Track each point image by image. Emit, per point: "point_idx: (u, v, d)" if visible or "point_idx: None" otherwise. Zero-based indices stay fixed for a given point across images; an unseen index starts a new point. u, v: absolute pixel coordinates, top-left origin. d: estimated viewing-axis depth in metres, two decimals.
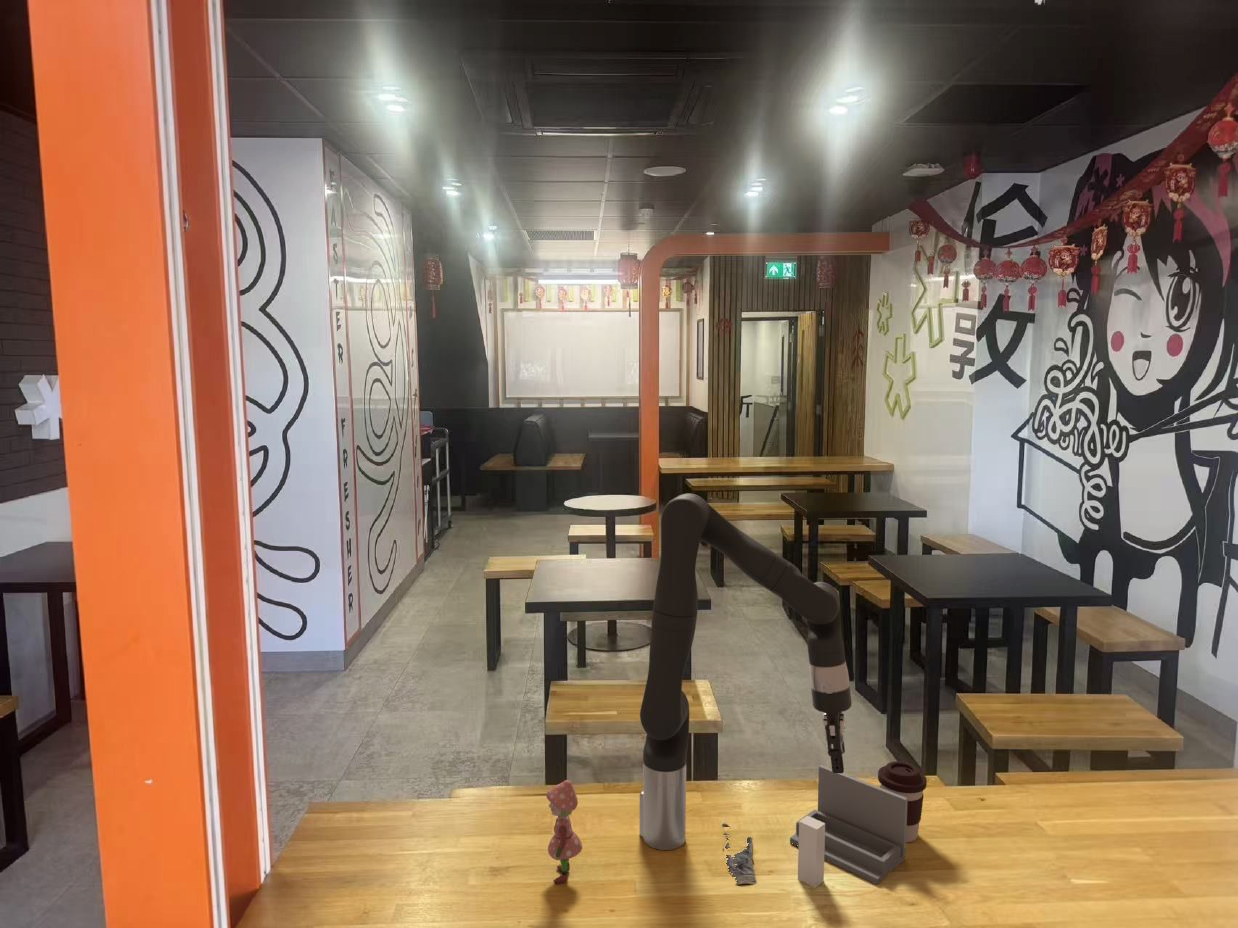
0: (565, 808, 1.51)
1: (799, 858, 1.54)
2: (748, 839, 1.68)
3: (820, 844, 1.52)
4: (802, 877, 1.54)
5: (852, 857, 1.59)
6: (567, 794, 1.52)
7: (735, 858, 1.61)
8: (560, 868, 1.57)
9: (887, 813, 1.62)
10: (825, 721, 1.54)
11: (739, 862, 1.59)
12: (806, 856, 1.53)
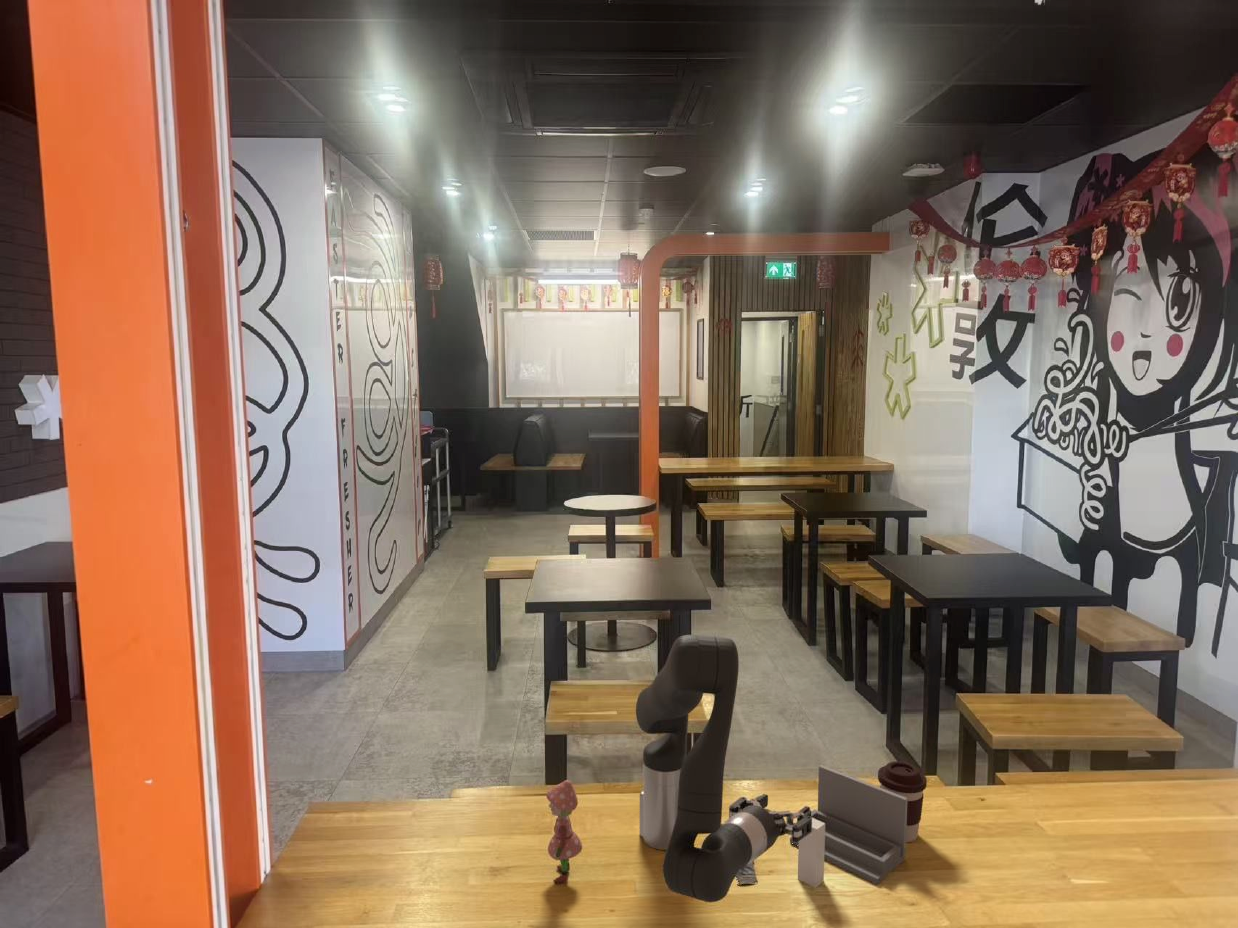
0: (565, 808, 1.51)
1: (799, 858, 1.54)
2: None
3: (820, 844, 1.52)
4: (802, 877, 1.54)
5: (852, 857, 1.59)
6: (567, 794, 1.52)
7: None
8: (560, 868, 1.57)
9: (887, 813, 1.62)
10: None
11: None
12: (806, 856, 1.53)
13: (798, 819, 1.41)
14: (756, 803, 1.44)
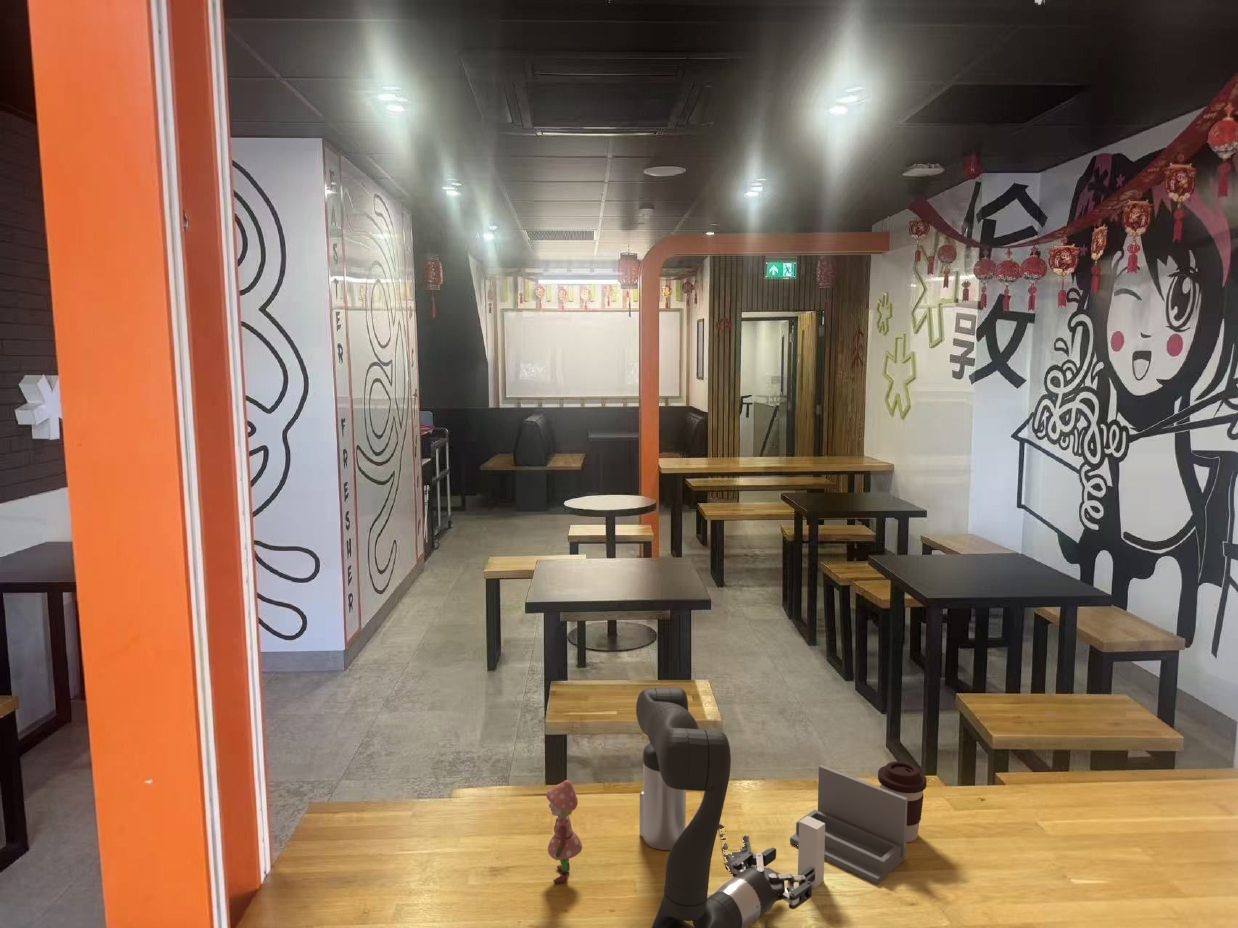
0: (565, 808, 1.51)
1: (799, 858, 1.54)
2: (745, 838, 1.68)
3: (820, 844, 1.52)
4: None
5: (852, 857, 1.59)
6: (567, 794, 1.52)
7: (735, 858, 1.61)
8: (560, 868, 1.57)
9: (887, 813, 1.62)
10: (757, 870, 1.44)
11: None
12: (806, 856, 1.53)
13: (799, 882, 1.42)
14: (760, 861, 1.47)
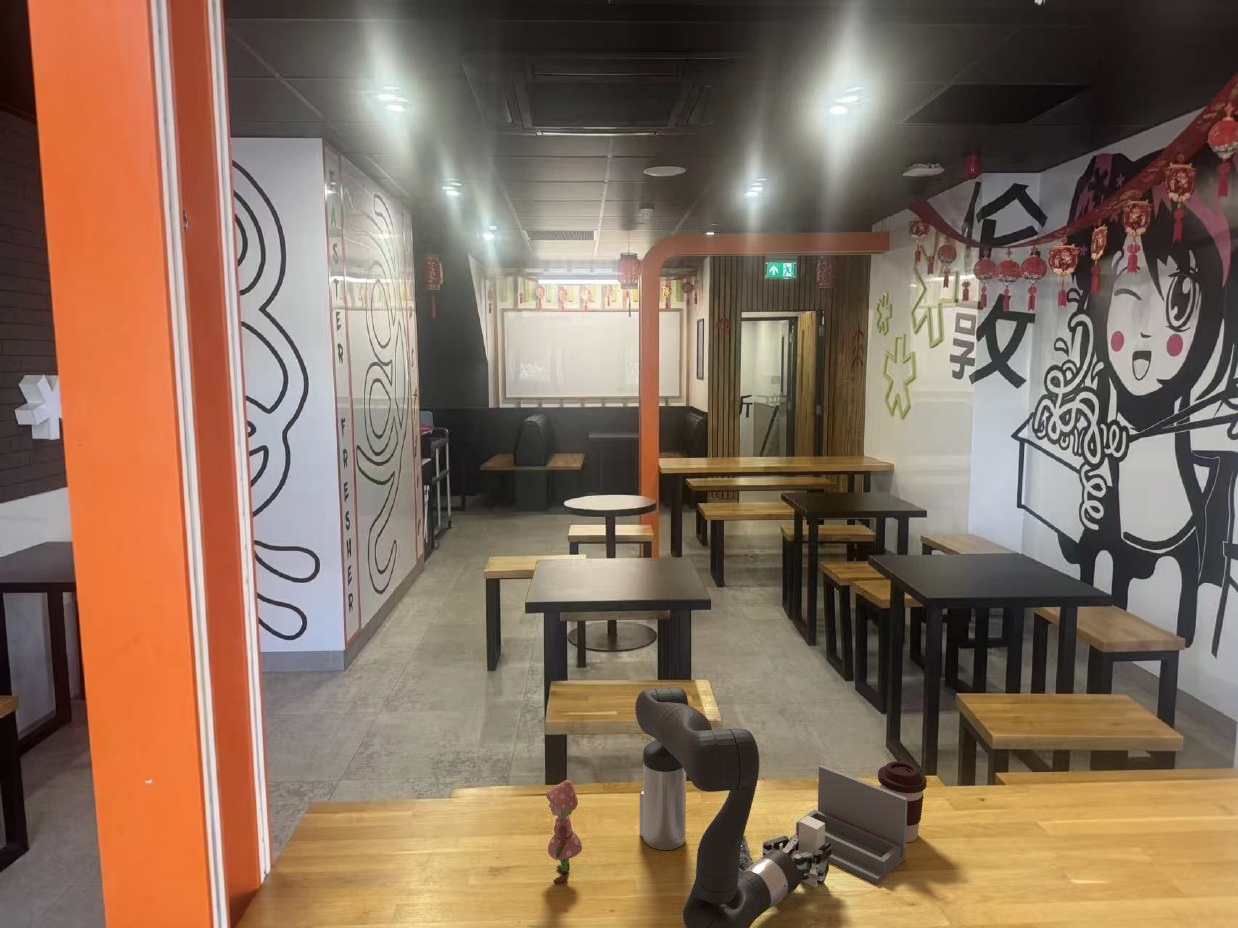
0: (565, 808, 1.51)
1: None
2: None
3: (820, 844, 1.52)
4: None
5: (852, 857, 1.59)
6: (567, 794, 1.52)
7: None
8: (560, 868, 1.57)
9: (887, 813, 1.62)
10: None
11: (739, 862, 1.59)
12: None
13: (817, 856, 1.50)
14: (790, 844, 1.52)
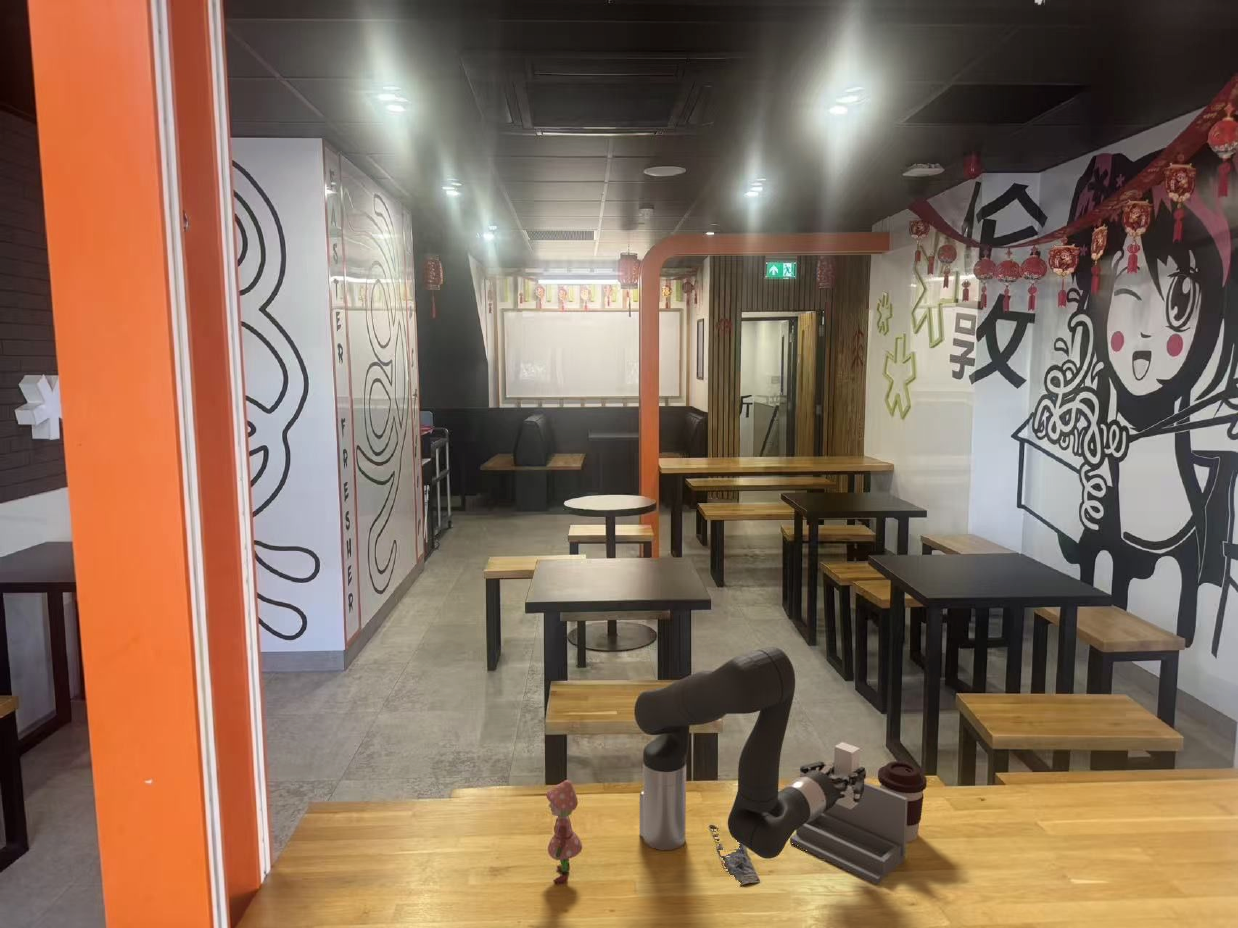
0: (565, 808, 1.51)
1: None
2: None
3: (855, 767, 1.59)
4: (837, 800, 1.61)
5: (852, 857, 1.59)
6: (567, 794, 1.52)
7: (732, 858, 1.61)
8: (560, 868, 1.57)
9: (887, 813, 1.62)
10: None
11: (737, 862, 1.59)
12: None
13: (852, 779, 1.58)
14: (826, 768, 1.59)
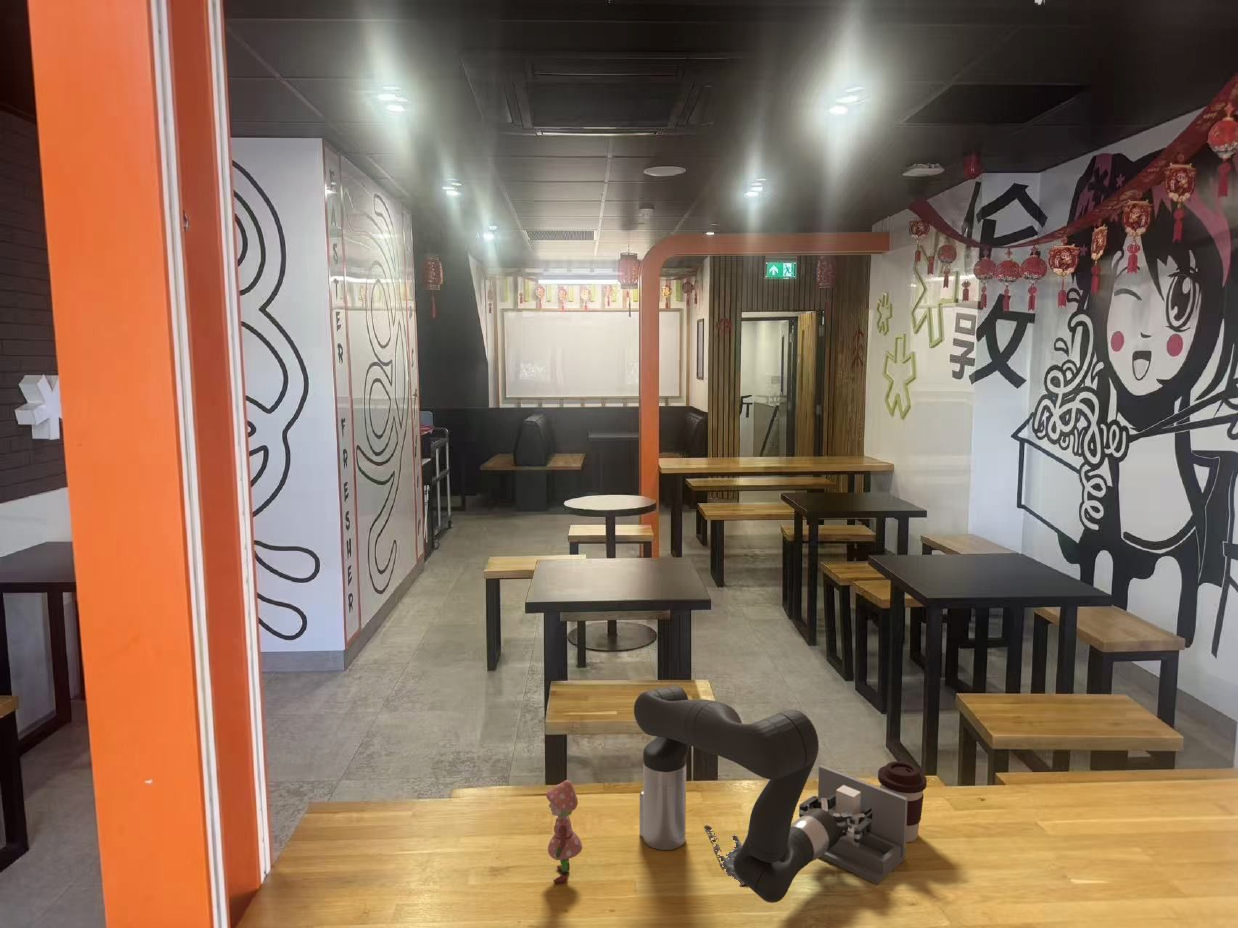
0: (565, 808, 1.51)
1: None
2: (734, 838, 1.68)
3: (856, 811, 1.62)
4: None
5: (852, 857, 1.59)
6: (567, 794, 1.52)
7: (730, 859, 1.61)
8: (560, 868, 1.57)
9: (887, 813, 1.62)
10: None
11: None
12: None
13: (859, 820, 1.58)
14: (824, 804, 1.62)
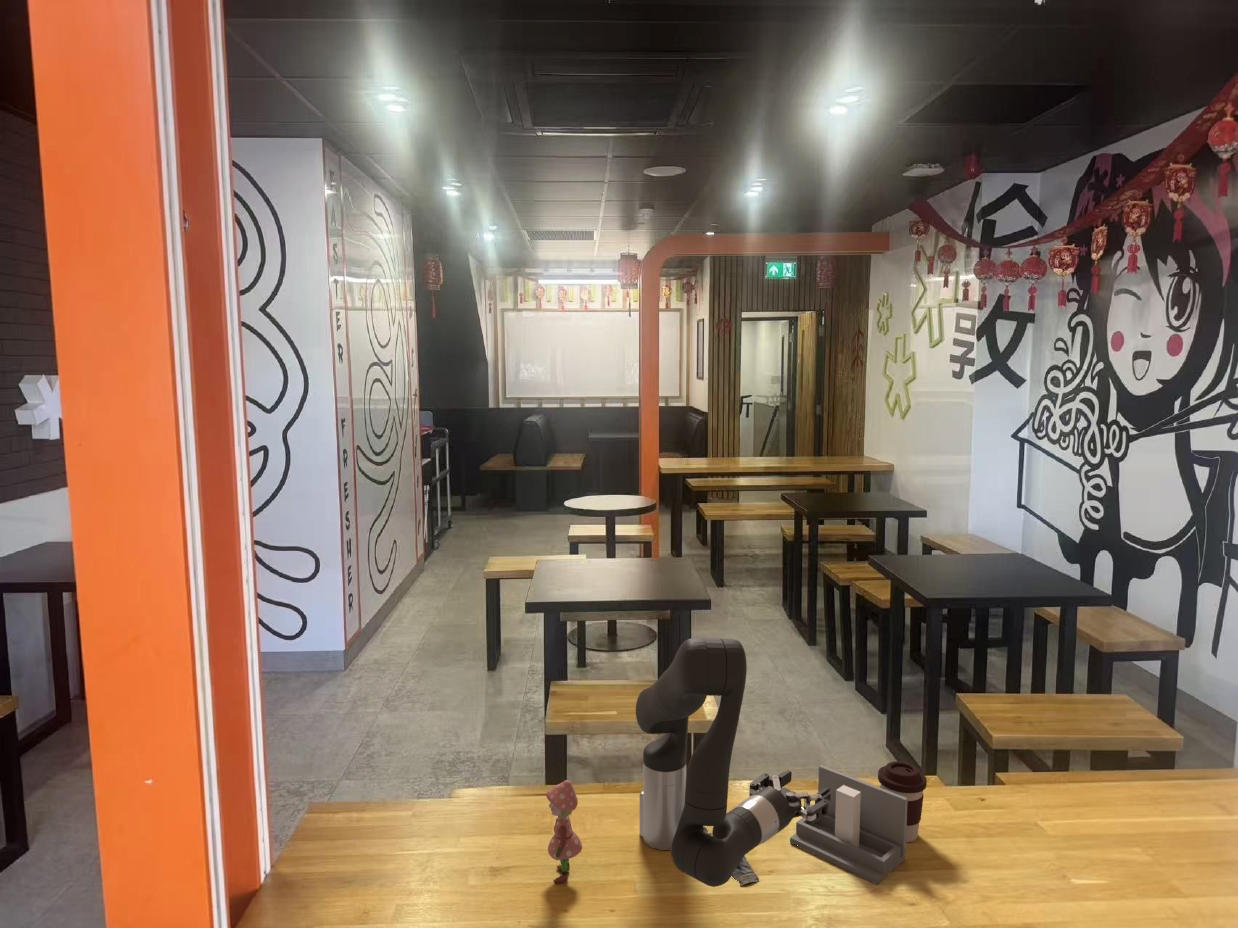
0: (565, 808, 1.51)
1: (836, 824, 1.64)
2: None
3: (856, 811, 1.62)
4: None
5: (852, 857, 1.59)
6: (567, 794, 1.52)
7: None
8: (560, 868, 1.57)
9: (887, 813, 1.62)
10: None
11: None
12: (842, 823, 1.63)
13: (815, 801, 1.45)
14: (776, 782, 1.49)
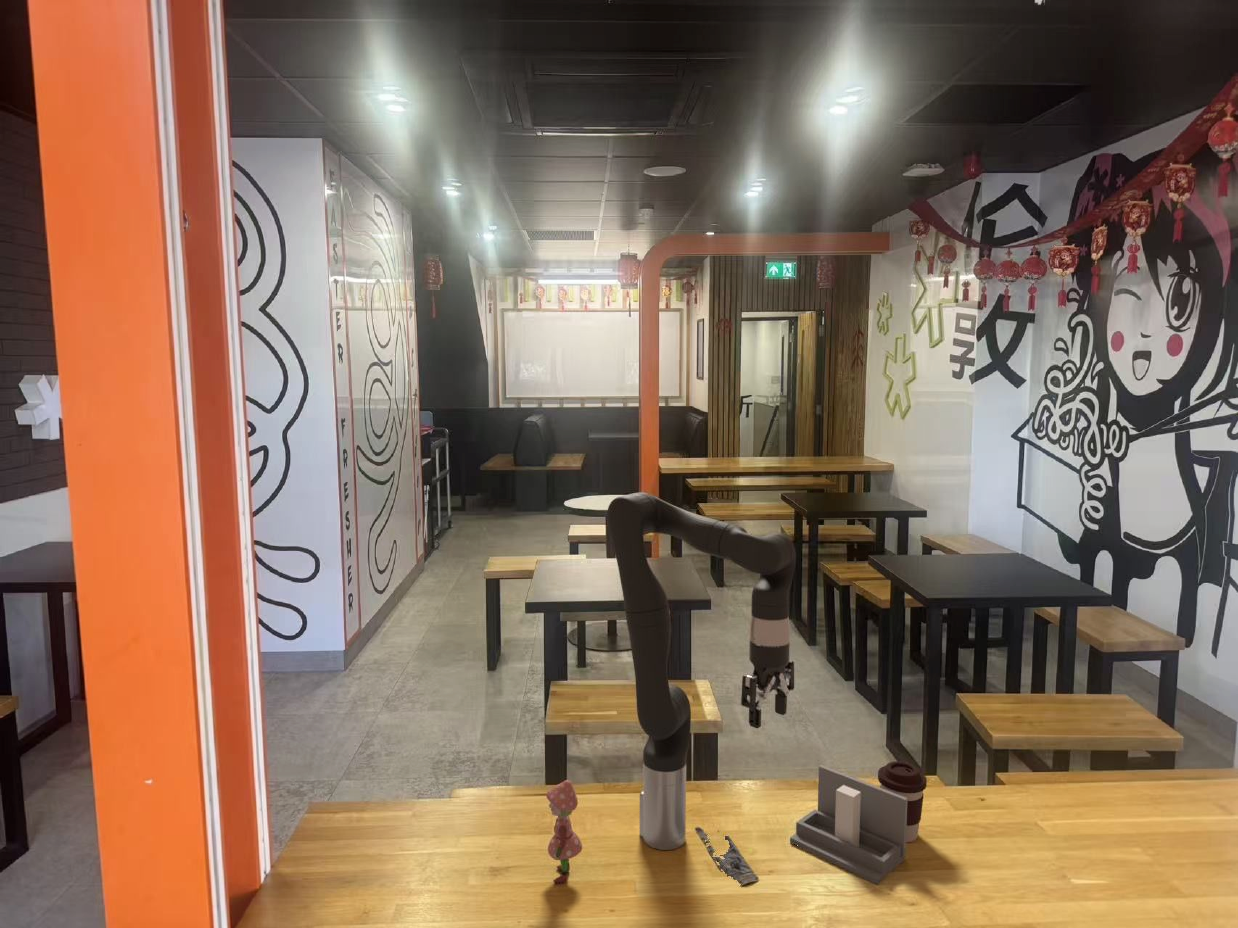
0: (565, 808, 1.51)
1: (836, 824, 1.64)
2: (727, 838, 1.68)
3: (856, 811, 1.62)
4: None
5: (852, 857, 1.59)
6: (567, 794, 1.52)
7: (726, 859, 1.61)
8: (560, 868, 1.57)
9: (887, 813, 1.62)
10: None
11: (732, 862, 1.59)
12: (842, 823, 1.63)
13: None
14: None
